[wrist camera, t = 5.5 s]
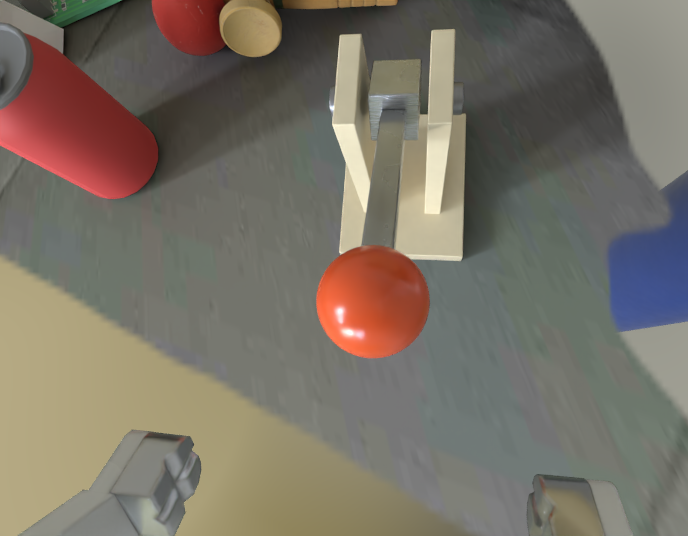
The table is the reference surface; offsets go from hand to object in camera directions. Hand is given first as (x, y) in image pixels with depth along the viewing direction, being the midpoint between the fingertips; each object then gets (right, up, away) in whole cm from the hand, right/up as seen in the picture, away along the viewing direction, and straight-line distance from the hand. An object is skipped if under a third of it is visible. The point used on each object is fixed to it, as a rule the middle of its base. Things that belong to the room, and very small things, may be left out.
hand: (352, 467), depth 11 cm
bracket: (+4, +10, +21) cm, 24 cm away
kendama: (-5, +24, +25) cm, 36 cm away
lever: (+2, +7, +8) cm, 11 cm away
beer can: (-18, +13, +25) cm, 33 cm away
